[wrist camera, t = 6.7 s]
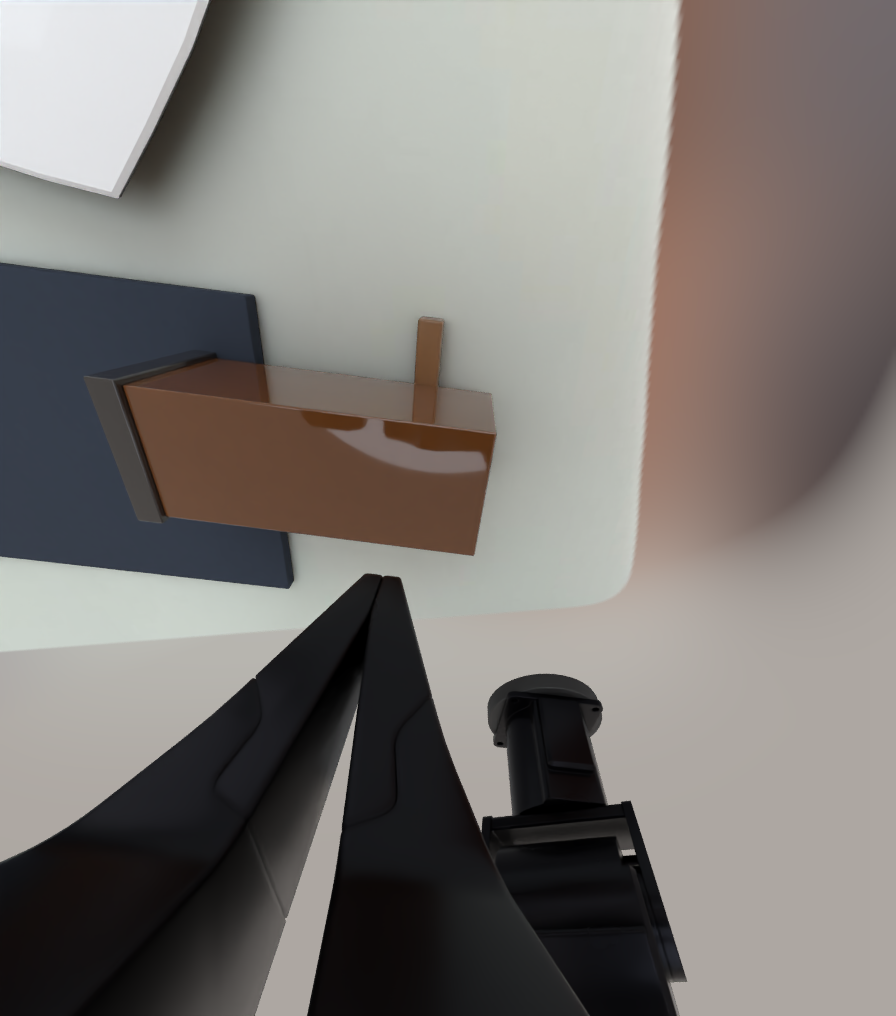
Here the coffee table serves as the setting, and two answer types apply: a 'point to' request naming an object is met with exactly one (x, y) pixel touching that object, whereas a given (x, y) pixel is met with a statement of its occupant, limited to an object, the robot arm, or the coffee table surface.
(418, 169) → the coffee table surface
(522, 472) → the coffee table surface
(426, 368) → the stop
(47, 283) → the mat
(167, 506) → the brown capped block
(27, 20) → the plate
